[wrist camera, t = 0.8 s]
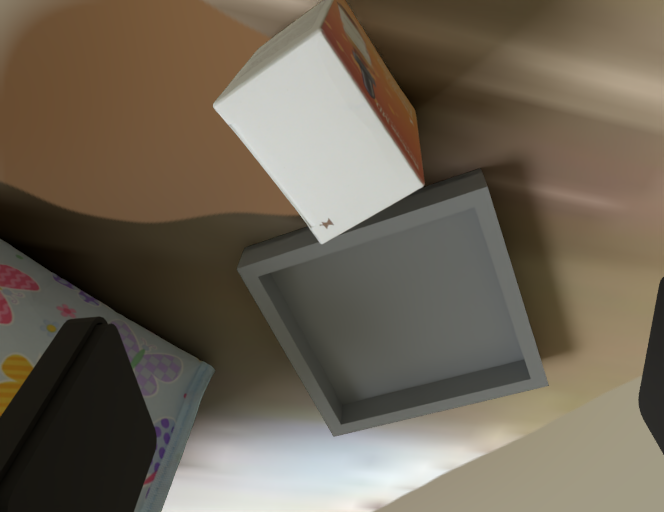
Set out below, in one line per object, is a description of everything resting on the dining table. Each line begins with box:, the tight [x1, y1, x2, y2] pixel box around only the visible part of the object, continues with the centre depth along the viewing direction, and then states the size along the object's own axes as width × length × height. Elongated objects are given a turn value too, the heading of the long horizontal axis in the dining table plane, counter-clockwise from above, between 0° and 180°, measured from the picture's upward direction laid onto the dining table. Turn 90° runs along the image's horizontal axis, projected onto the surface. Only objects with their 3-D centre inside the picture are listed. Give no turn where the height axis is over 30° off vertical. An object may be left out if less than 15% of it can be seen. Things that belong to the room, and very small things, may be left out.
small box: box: [213, 0, 425, 244], centre depth 29 cm, size 8×6×10 cm
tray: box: [237, 168, 549, 436], centre depth 40 cm, size 16×16×3 cm
